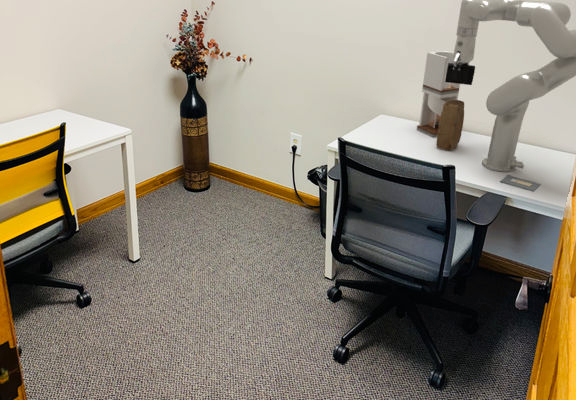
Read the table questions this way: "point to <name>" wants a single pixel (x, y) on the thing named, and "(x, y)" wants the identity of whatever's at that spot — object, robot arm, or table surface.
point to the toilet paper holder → (436, 91)
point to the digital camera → (466, 74)
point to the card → (520, 183)
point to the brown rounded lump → (450, 125)
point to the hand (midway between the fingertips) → (459, 78)
